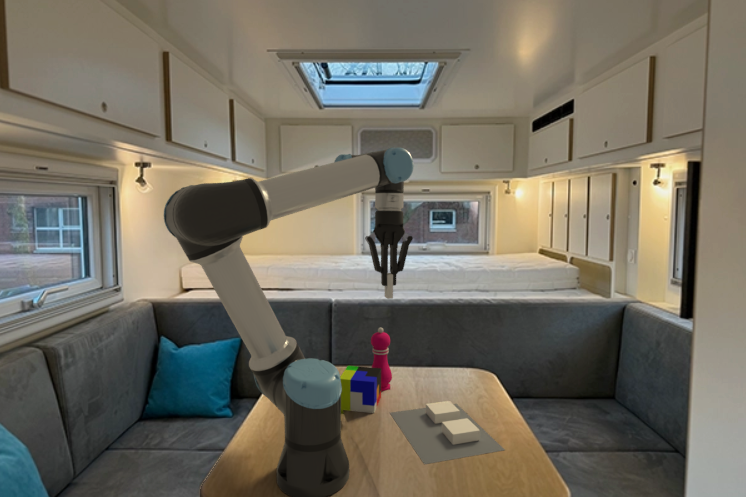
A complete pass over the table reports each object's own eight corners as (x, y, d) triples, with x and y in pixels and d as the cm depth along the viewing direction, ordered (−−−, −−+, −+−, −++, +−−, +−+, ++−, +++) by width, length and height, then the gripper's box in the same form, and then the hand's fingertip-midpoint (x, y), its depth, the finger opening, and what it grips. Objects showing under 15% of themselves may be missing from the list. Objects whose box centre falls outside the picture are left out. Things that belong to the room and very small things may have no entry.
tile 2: (452, 445, 97) (479, 440, 99) (453, 434, 97) (479, 430, 99) (441, 432, 103) (467, 428, 105) (441, 422, 103) (467, 418, 105)
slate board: (505, 454, 96) (505, 450, 96) (424, 469, 90) (424, 464, 90) (456, 407, 119) (456, 403, 119) (389, 416, 113) (389, 412, 113)
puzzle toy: (374, 417, 113) (374, 381, 112) (338, 413, 115) (338, 378, 114) (380, 401, 123) (381, 368, 122) (348, 398, 125) (348, 365, 124)
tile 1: (434, 424, 107) (459, 420, 109) (435, 414, 107) (459, 410, 109) (425, 413, 113) (449, 410, 115) (425, 403, 112) (449, 400, 114)
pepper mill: (378, 383, 135) (378, 323, 133) (396, 389, 131) (397, 327, 129) (363, 390, 130) (364, 327, 128) (382, 397, 125) (382, 332, 123)
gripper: (369, 209, 105) (369, 301, 107) (417, 210, 109) (416, 299, 111) (362, 209, 112) (361, 296, 114) (407, 210, 116) (406, 293, 118)
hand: (388, 297), depth 113 cm, fingers closed
